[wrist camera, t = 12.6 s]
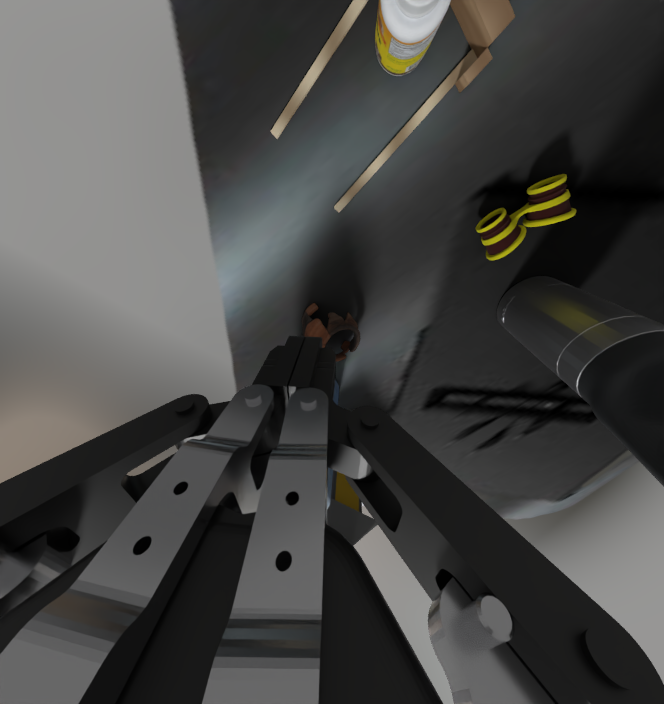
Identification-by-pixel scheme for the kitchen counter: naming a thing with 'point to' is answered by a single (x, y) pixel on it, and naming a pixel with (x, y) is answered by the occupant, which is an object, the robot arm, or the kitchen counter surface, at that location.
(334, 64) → the kitchen counter surface
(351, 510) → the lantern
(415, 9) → the supplement bottle
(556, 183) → the opera glasses
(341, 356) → the brown jagged curved piece
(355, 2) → the bay
